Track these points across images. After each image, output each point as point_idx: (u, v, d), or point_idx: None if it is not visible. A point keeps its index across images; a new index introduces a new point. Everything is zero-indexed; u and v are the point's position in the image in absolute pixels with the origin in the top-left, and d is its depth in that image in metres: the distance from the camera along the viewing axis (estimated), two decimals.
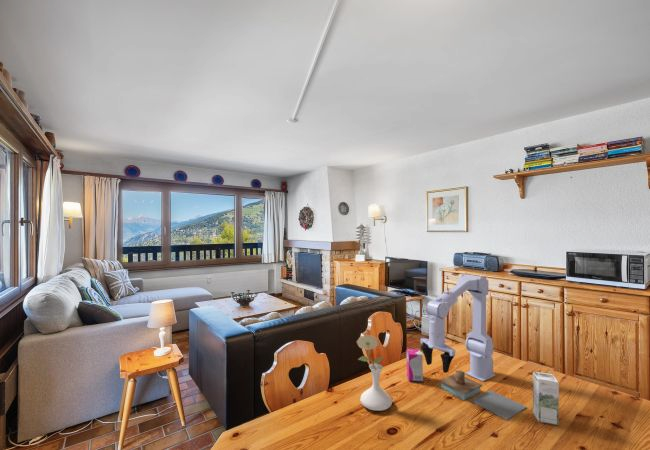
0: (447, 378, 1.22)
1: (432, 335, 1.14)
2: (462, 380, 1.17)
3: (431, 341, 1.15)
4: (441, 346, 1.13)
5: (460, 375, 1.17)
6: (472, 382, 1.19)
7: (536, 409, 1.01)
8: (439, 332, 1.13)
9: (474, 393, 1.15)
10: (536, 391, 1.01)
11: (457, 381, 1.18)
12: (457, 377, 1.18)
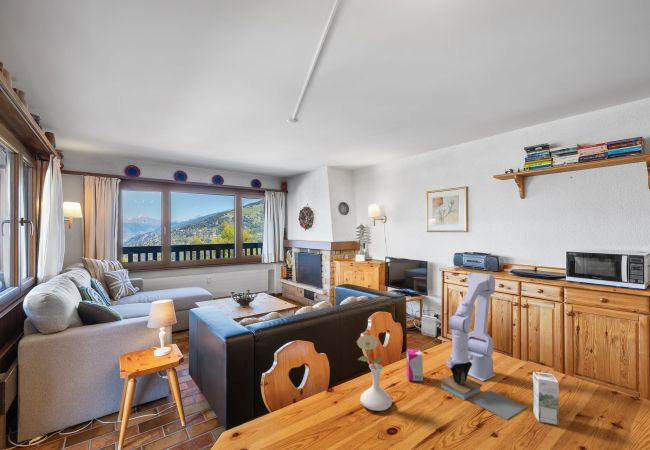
0: (447, 378, 1.22)
1: None
2: (462, 380, 1.17)
3: None
4: (453, 358, 1.18)
5: None
6: (472, 382, 1.19)
7: (536, 409, 1.01)
8: (464, 346, 1.16)
9: (474, 393, 1.15)
10: (536, 391, 1.01)
11: None
12: None
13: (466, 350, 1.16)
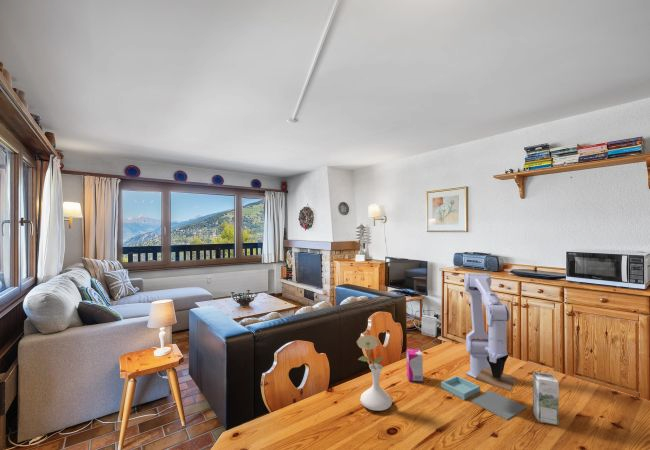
0: (481, 374, 1.11)
1: None
2: None
3: None
4: (492, 351, 1.08)
5: None
6: (506, 376, 1.11)
7: (536, 409, 1.01)
8: (506, 337, 1.07)
9: (474, 393, 1.15)
10: (536, 391, 1.01)
11: None
12: None
13: (506, 341, 1.07)
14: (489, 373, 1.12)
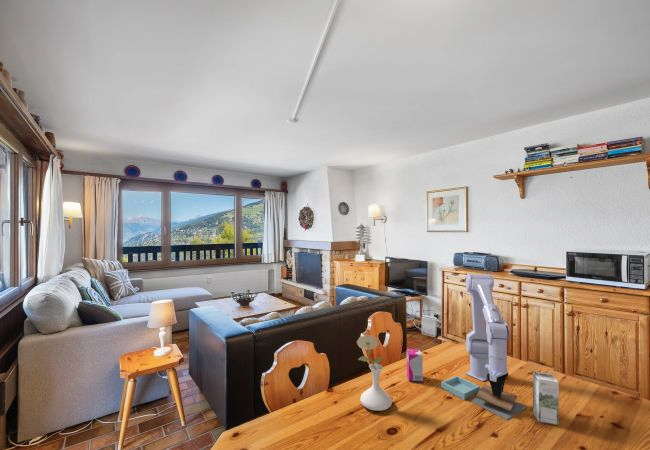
0: (481, 392, 1.11)
1: None
2: None
3: None
4: (492, 369, 1.08)
5: None
6: (506, 393, 1.11)
7: (536, 409, 1.01)
8: (506, 355, 1.07)
9: (474, 393, 1.15)
10: (536, 391, 1.01)
11: None
12: None
13: (506, 359, 1.07)
14: (489, 390, 1.12)
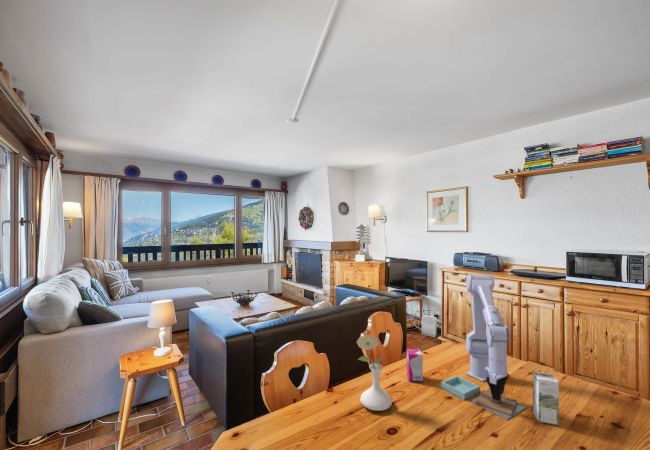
0: (481, 398, 1.11)
1: None
2: (500, 399, 1.08)
3: None
4: (492, 372, 1.08)
5: None
6: (506, 398, 1.11)
7: (536, 409, 1.01)
8: (506, 358, 1.07)
9: (474, 393, 1.15)
10: (536, 391, 1.01)
11: (494, 400, 1.08)
12: None
13: (506, 362, 1.07)
14: (489, 396, 1.12)
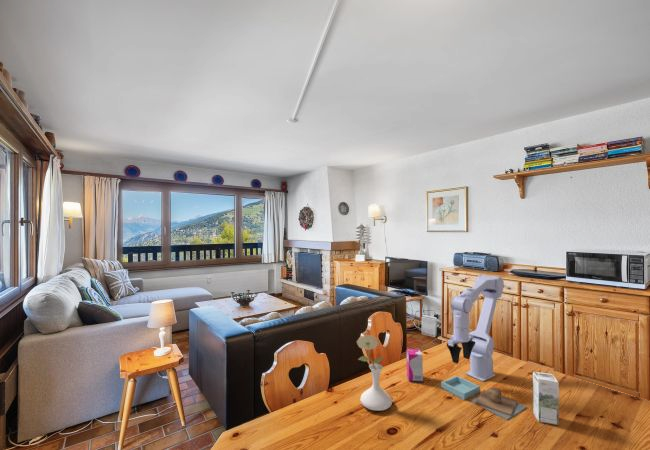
0: (481, 398, 1.11)
1: None
2: (500, 399, 1.08)
3: None
4: (454, 337, 1.21)
5: (498, 393, 1.08)
6: (506, 398, 1.11)
7: (536, 409, 1.01)
8: (464, 326, 1.19)
9: (474, 393, 1.15)
10: (536, 391, 1.01)
11: (494, 400, 1.08)
12: (494, 396, 1.08)
13: (467, 329, 1.20)
14: (489, 396, 1.12)
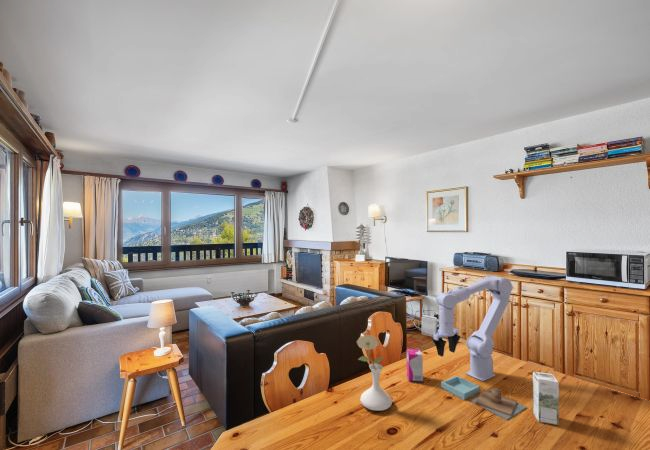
0: (481, 398, 1.11)
1: None
2: (500, 399, 1.08)
3: None
4: (440, 332, 1.28)
5: (498, 393, 1.08)
6: (506, 398, 1.11)
7: (536, 409, 1.01)
8: (446, 321, 1.26)
9: (474, 393, 1.15)
10: (536, 391, 1.01)
11: (494, 400, 1.08)
12: (494, 396, 1.08)
13: (452, 324, 1.26)
14: (489, 396, 1.12)
